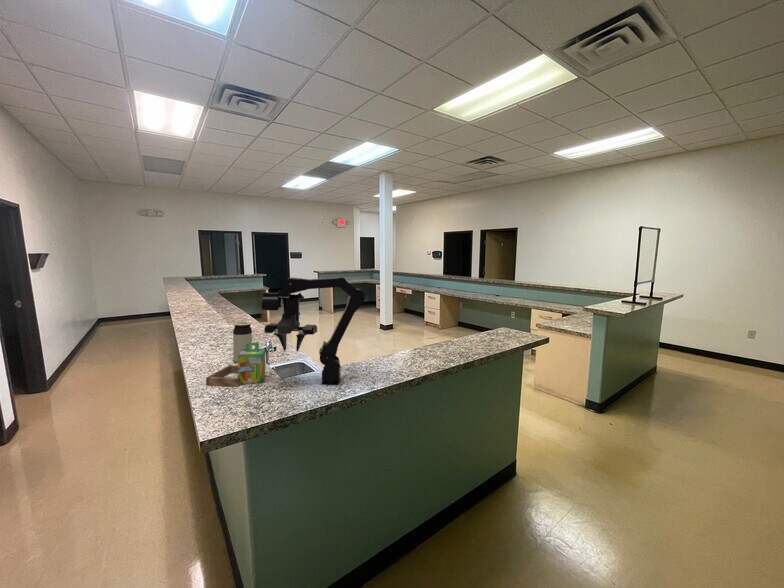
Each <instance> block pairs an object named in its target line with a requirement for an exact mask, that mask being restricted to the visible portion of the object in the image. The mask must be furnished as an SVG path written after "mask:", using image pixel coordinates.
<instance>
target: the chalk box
mask: <svg viewBox="0 0 784 588" xmlns="http://www.w3.org/2000/svg"><path fill="white" fill-rule="evenodd" d="M250 346H252V347H254V348H252V349H250V348H249V347H250ZM259 346H260V344H259V342H252V343H246V349H243V350H241V352H240V353H239V355H238V362H237V365H238V373H237V378H240V385H246V384H248V385H249V384H250V383H252V384H259V383H258V382H264V380H263V379H265V377H266V349H265V348H260V347H259ZM264 376H265V377H264Z"/></svg>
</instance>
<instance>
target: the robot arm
mask: <svg viewBox="0 0 784 588" xmlns="http://www.w3.org/2000/svg"><path fill="white" fill-rule="evenodd" d="M331 288H340V289H341V290H342V291H343V292H344V293H346V295H348V297H347V301H346V305H345V309H344V310H343V312H342V315H340V316H341V317H340V318H339V321H338V323H336V324H337V325H336V327H335V328H334V330H333V332H332V335H331V336H330V338H329V340H328V341H323V342H322V346H321V347H320V348H319V351H318V352H319V353H318V354H319V362H320V363H321V364H322V365H324V366H323V368H322V370H321V381H322V382H321V384H322V385H334V386H335V385H339V384H340V382H341V380H342V378H341V372H342V371H341V370H342V369H341V367H342V366H341V363H340V361H341V360H340V358H339V357H338V356H337V353H338V347H339V344H340V342H341V340H342V339H343V337H344V335H345V333H346V330H347V328H348V326H349V325H350V323H351V321H352V319H353V317H354V315H355V313H356V312H357V311H358V309H360V307H361V306H362V305H363V303H364V302H365V300H366V293H365V292H364V291H363V290H361V289H360V288H355V287H354V286H353V285H352V284H351V283H349V282H348V281H347V280H346V278H344V277H343V276H337V277H325V278H310V279H309V278H301V277H300V278H299V277H288V278H286V279H285V280H284V281H283V283H282V288H280V290H278V292H266V291H265V292H263V293H262V300H261V310H262V311H263V312H264V311H270V312H272V311H274V312H275V311H277V312H278V311H280V309H282V308H283V313H282V314H281V319H280V320H279V321H278V322H271V323H269V324H266V325H265V326H264V328H263V330H264V333H265V334H273V336H275V337H277V338H278V340H279V341H280V344H281V347H282V349H283V351H286V350H287V335H288V334H289V335H290V334H291V333H292V332H298V333H297V334H296V335H295V336H296V352H299V350H300V348H301V345H302V343H303V341H304V339H305V337H306V336H307V335H310V336H312V335H315V334H316V333H317V332H318V326H317V325H316V324H306V325H304V326H301V323H300V316H301V312H300V300H304V299H305V296H304V295H303V294H302V292H303V291H307V290H316V289H331ZM297 293H298V294H297ZM287 294H289V296H286V295H287Z"/></svg>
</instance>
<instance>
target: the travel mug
mask: <svg viewBox="0 0 784 588" xmlns="http://www.w3.org/2000/svg"><path fill="white" fill-rule="evenodd" d="M251 324H252V322H251V321H238V322H233V325H234V327H233V330H232V336H233V338H232V344H233V349H232V350H233V351H232V352H233V356H232V357H233V362H235V363H238V355H239V353H240V352H241V350H243V349H246V343H253V329H252V327H251V326H252V325H251ZM249 348H250V349H253V345H252V346H250V347H249Z"/></svg>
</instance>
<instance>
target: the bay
mask: <svg viewBox="0 0 784 588" xmlns="http://www.w3.org/2000/svg"><path fill="white" fill-rule="evenodd" d="M229 373H230V374H238V364H237V365H236V364H229V365H227V366H225V367H223V368H221V369H220V370H218V371H216V372H214V373H212V374H210V375H208V376H206V378H205V382H206V384H205V386H207V387H208V386H210V387H229V388H231V387H232V388H239V387H240V385H241V384H240V378H238V377H227V376H228V375H230V374H229Z"/></svg>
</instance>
